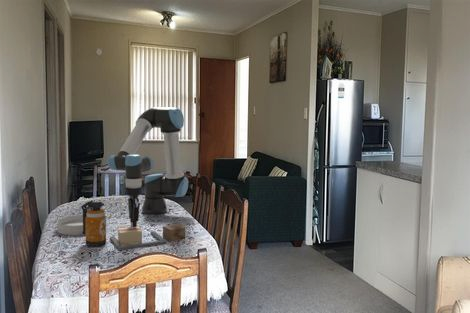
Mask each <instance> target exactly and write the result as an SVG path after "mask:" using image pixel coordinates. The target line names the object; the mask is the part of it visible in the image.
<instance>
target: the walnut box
mask: <svg viewBox="0 0 470 313" xmlns="http://www.w3.org/2000/svg"><path fill="white" fill-rule="evenodd" d="M162 238H163V239H165V240H166V241H168V242H170V243H173V242H177V241H179V242H180V241H183V239H184V240H186V227H185V226H183V225H181V224H180V223H174V224H166V225H162Z"/></svg>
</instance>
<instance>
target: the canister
mask: <svg viewBox="0 0 470 313" xmlns="http://www.w3.org/2000/svg"><path fill="white" fill-rule="evenodd" d="M103 206H105V203H104V202H102V201H93V200H90V201H87V202H85V203H84V204H82V205H81V206H80V208H81V210H82V215H83V232H82V235H84V236H85V244H86V245H87V246H89V247H99V246H102V245H104V244H106V243H107V216H106V214H105V213H106V212H105V210H104V208H102V207H103Z"/></svg>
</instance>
